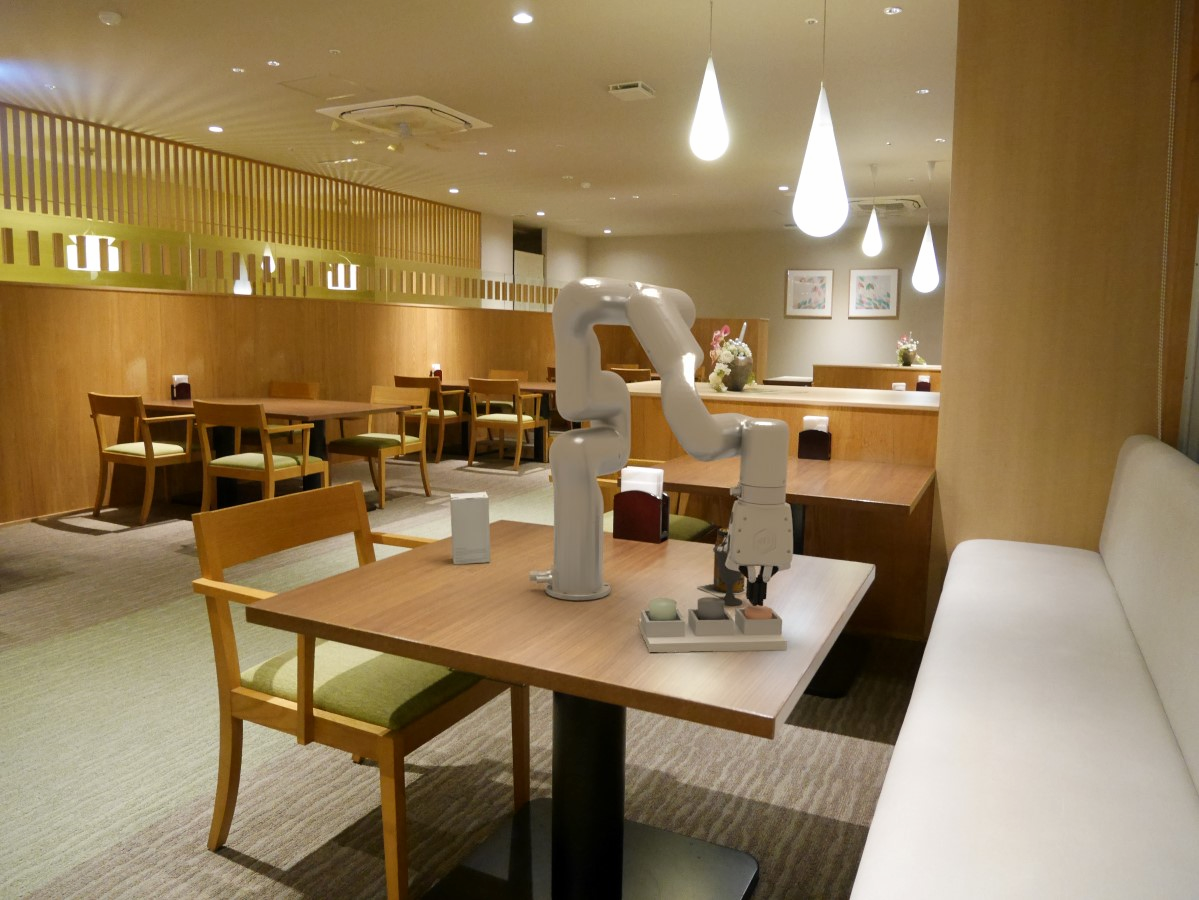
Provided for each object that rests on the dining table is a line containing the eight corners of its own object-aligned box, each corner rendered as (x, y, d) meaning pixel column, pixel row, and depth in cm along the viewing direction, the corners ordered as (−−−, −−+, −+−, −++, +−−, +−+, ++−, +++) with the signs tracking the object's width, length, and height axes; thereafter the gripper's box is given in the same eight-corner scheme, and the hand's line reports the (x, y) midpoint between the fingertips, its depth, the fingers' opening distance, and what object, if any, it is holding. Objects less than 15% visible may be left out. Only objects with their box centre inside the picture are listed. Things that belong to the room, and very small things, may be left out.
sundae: (739, 609, 157) (742, 529, 155) (705, 603, 160) (708, 524, 158) (753, 600, 162) (756, 522, 160) (720, 594, 166) (722, 518, 164)
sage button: (651, 624, 138) (651, 606, 138) (647, 615, 143) (647, 598, 142) (678, 623, 139) (678, 605, 138) (673, 615, 143) (673, 597, 143)
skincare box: (488, 556, 192) (488, 491, 190) (490, 563, 186) (490, 496, 184) (450, 558, 190) (449, 492, 188) (451, 565, 184) (451, 497, 182)
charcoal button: (700, 623, 139) (700, 605, 139) (694, 614, 143) (695, 597, 143) (726, 623, 139) (727, 605, 139) (720, 614, 144) (721, 596, 143)
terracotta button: (748, 631, 140) (749, 613, 140) (741, 622, 144) (742, 605, 144) (774, 630, 140) (775, 613, 140) (767, 622, 145) (767, 604, 144)
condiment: (753, 591, 169) (755, 531, 167) (720, 598, 164) (722, 536, 162) (728, 582, 175) (730, 524, 173) (696, 588, 170) (698, 529, 168)
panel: (648, 652, 135) (649, 628, 134) (638, 627, 147) (638, 604, 146) (786, 649, 137) (787, 625, 136) (765, 624, 149) (766, 602, 148)
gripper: (722, 498, 135) (716, 611, 138) (814, 499, 136) (807, 610, 139) (711, 489, 142) (706, 596, 145) (799, 490, 144) (792, 596, 147)
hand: (755, 603), depth 142 cm, fingers closed
